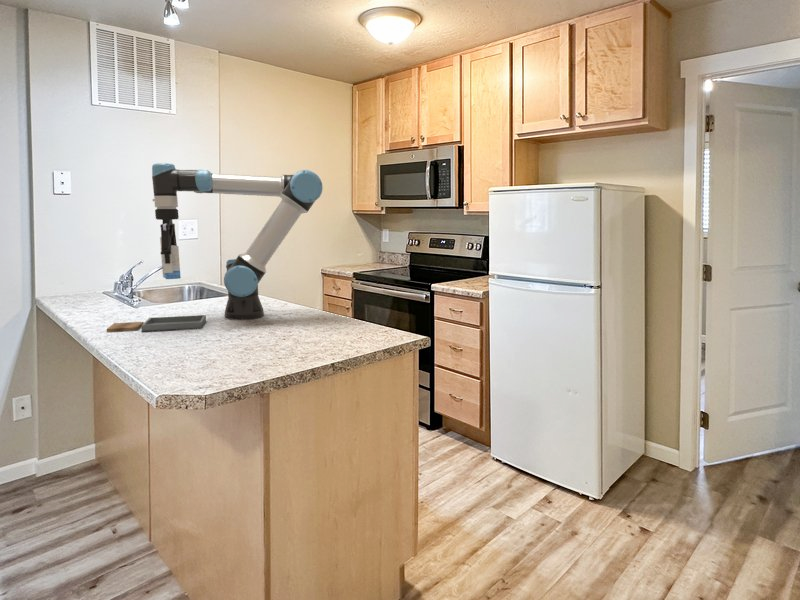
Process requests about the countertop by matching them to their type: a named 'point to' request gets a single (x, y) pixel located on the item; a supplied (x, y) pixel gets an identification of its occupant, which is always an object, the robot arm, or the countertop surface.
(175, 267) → the ink box
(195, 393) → the countertop surface
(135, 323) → the board
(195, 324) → the tray
